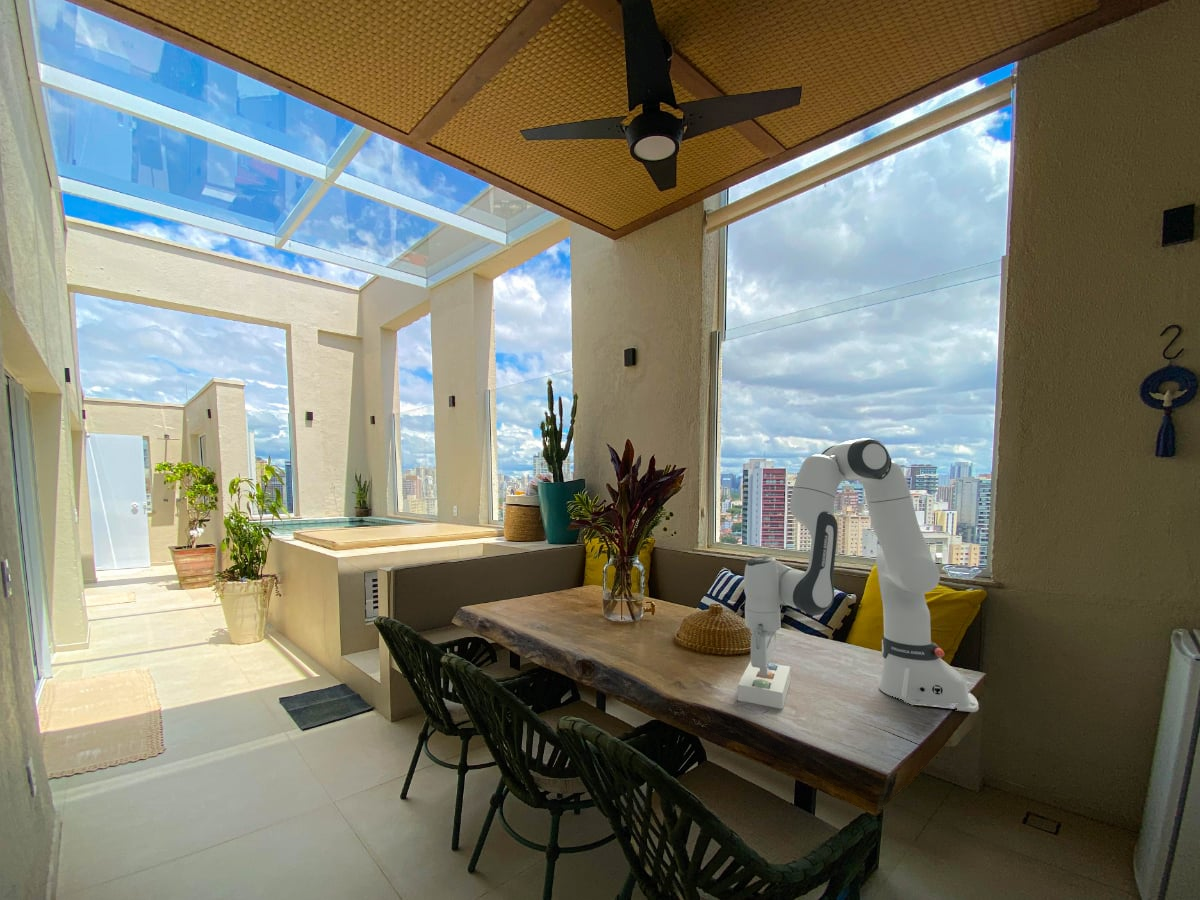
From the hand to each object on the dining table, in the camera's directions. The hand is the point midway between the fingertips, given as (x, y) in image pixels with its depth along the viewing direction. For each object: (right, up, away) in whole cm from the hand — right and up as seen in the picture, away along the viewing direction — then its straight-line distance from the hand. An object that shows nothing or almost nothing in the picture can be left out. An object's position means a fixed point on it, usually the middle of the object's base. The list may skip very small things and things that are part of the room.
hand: (764, 674), depth 132 cm
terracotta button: (+2, -6, +6) cm, 9 cm away
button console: (+2, -7, +6) cm, 10 cm away
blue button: (+5, -6, +13) cm, 15 cm away
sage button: (-1, -5, 0) cm, 5 cm away
